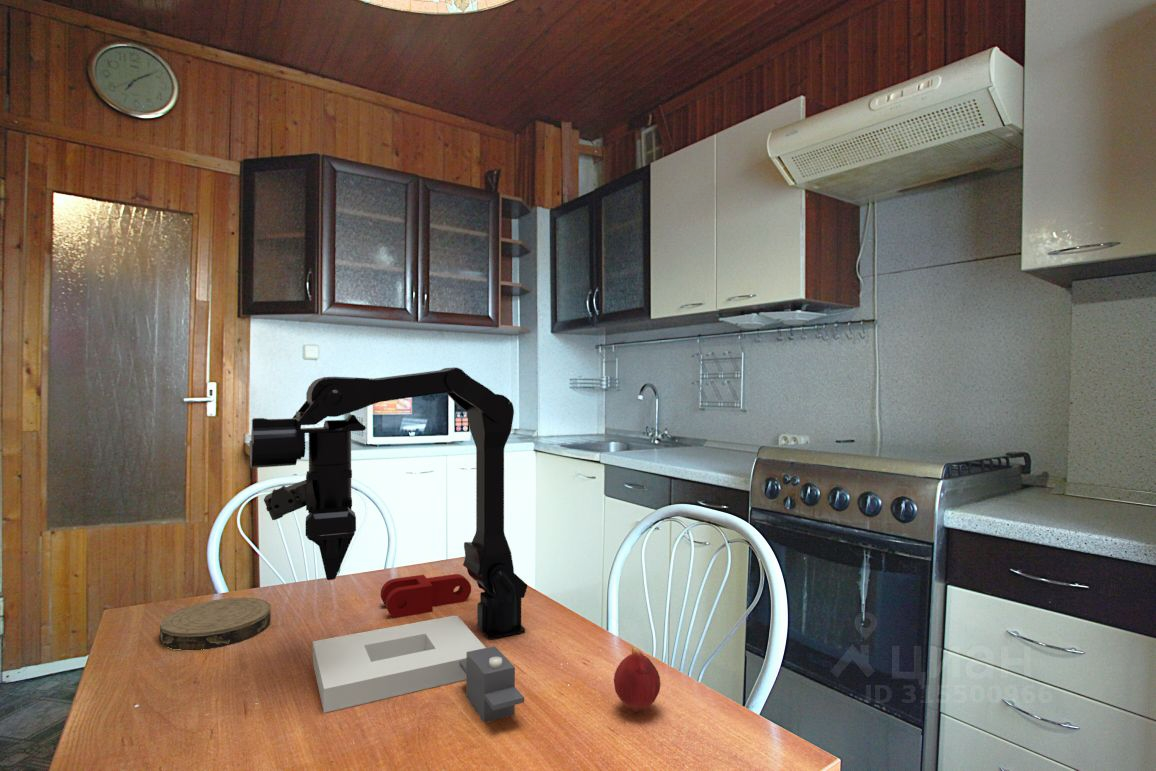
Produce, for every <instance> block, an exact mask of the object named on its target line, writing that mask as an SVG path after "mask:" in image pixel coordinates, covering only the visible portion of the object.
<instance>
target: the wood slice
mask: <svg viewBox="0 0 1156 771" xmlns="http://www.w3.org/2000/svg"><path fill="white" fill-rule="evenodd" d="M270 625H271V603H270V602H268V601H267V600H265V599H261V598H257V597H245V596H244V597H227V598H220V599H213V600H209V601H208V600H207V601H204V602H199V603H195V604H193V605H189V606H187V607H183V608H179V609H177V610H176V611H173V612H171V613H170V614H168V615H166V617H164V618H163V619H162V620H161V622H160V624H159V642H160V641H161V642H160V644H161V643H162V644H163V645H164V646H166V647H169V648H172V649H181V650H194V651H204V650H203V649H207V650H211V648H213V649H218V647H219V648H223V647H227V645H228V646H232V645H235V644H239V643H242V642H245V641H247V640H249V639H251V638H255V637H256V636H258V635H260V634H261V633H262V634H263V632H265V631H266V630H267V629H268V628H269V627H270ZM244 640H245V641H244ZM162 644H161V645H162ZM231 644H232V645H231ZM163 645H162V646H163ZM164 646H163V647H164ZM166 647H165V648H166ZM169 648H168V649H169ZM172 649H171V650H172ZM201 649H202V650H201ZM181 650H180V651H181Z"/></svg>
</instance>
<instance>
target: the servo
mask: <svg viewBox="0 0 1156 771" xmlns="http://www.w3.org/2000/svg"><path fill="white" fill-rule="evenodd" d="M460 667H461V668H462V670H463V671H464V672H465V674H466V680H465V681H466V682H465V684H466V686H465V687H466V688H465V689H466V690H465V691H466V693H465V696H466V699H467V700H468V702H469V703H470V705H471V706H472V708H473V709H474V711H475V712H476V713H477V715H478V716H479V718H480V720H482V723H483V724H486V723H489V722H493V721H496V720H501V719H505V718H507V717H512V716H515V714H516V713H515V706H516V705H520V704H524V703H525V697H524V695H523V694H522V692H520V691H519V689H517V687H516V681H515V680H516V676H515V675H516V667H515V665H514V664H512V662H511V661H510V660H509V659H508V658H507V657H506V656H505V655H504V654H503V653H502V652H501V651H500V650H499V648H498V647H496V646H495V645H493V646H488V647H486V648H483V649H479V650H474V651H469V652H467V656H466V660H462V661H460Z"/></svg>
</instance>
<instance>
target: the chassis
mask: <svg viewBox="0 0 1156 771" xmlns="http://www.w3.org/2000/svg"><path fill="white" fill-rule="evenodd" d="M483 648H487V647H486V646H485V645H484V644H483V643H482V641H480V640H479V638H478V637H477V636H476V634H474V632H473V631H471V629H470V628H469V627H468V626H467V624H466V623H465V622H464V621H463V620H462V619H461V618H460V616H458V615H449V616H445V617H440V618H434V619H433V618H432V619H428V620H424V621H423V620H422V621H416V622H412V623H407V624H400V625H395V626H389V627H384V628H378V629H373V630H368V631H363V632H357V633H351V634H345V635H339V636H335V637H330V638H325V639H319V640H313V641H312V664H313V669H314V673H315V679H316V683H317V688H318V692H319V698H320V702H321V707H322V710H323V714H325V713H329V712H333V711H338V710H343V709H346V708H351V707H356V706H359V705H364V704H368V703H373V702H377V701H381V700H385V699H389V698H390V699H391V698H393V697H399V696H402V695H406V694H410V693H411V694H412V693H413V692H414V693H415V692H419V691H422V690H427V689H432V688H437V687H441V686H444V685H449V684H453V683H457V682H461V681H466V674H465V672H464V671H463V670H462V668H461V667H460V661H462V660H466V656H467V652H469V651H474V650H479V649H483Z"/></svg>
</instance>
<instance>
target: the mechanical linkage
mask: <svg viewBox="0 0 1156 771" xmlns="http://www.w3.org/2000/svg"><path fill="white" fill-rule="evenodd" d="M457 587H459V588H458V589H457V590H456V591H455V589H456V588H457ZM471 592H472V586H471V582H470V581H469V580H468V578H466V577H465V576H464V575H462V574H460V573H459V574H458V573H454V574H447V575H440V576H439V575H438V576H433V577H426V576H425V575H424V574H418V575H417V574H416V575H411V576H404V577H396V578H391V579H389V580H387V581H386V582H385V583H384V584H383V585H382V587H381V590H380V599H381V600H382V602H383V604H384V605H385V607H386V610H387V611H388V614H389V615H390V616H391V617H392V618H395V619H398V618H399V619H400V618H405V617H410V616H415V615H422V614H427V613H433V608H435V607H442V606H448V605H454V604H460V603H464V602H466V601H467V600H468V599H469V597H470V595H471Z"/></svg>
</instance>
